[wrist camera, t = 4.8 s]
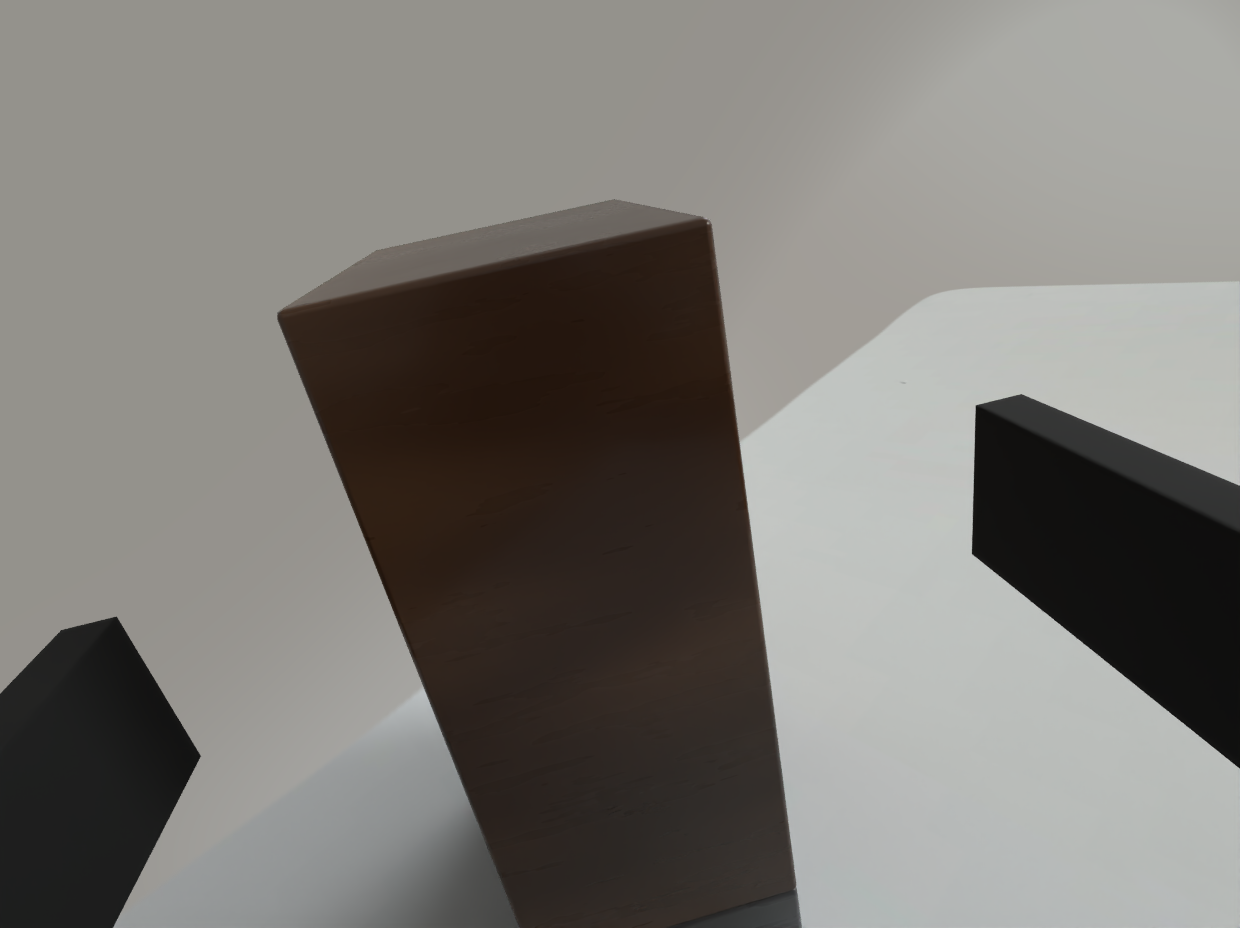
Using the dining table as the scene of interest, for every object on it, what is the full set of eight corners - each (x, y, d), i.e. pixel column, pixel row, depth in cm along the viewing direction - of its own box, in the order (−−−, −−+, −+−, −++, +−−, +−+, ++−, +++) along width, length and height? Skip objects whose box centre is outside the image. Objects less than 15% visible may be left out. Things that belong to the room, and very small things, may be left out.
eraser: (551, 1012, 12) (270, 311, 7) (533, 744, 17) (371, 250, 12) (804, 935, 12) (713, 216, 7) (707, 697, 17) (618, 198, 13)
